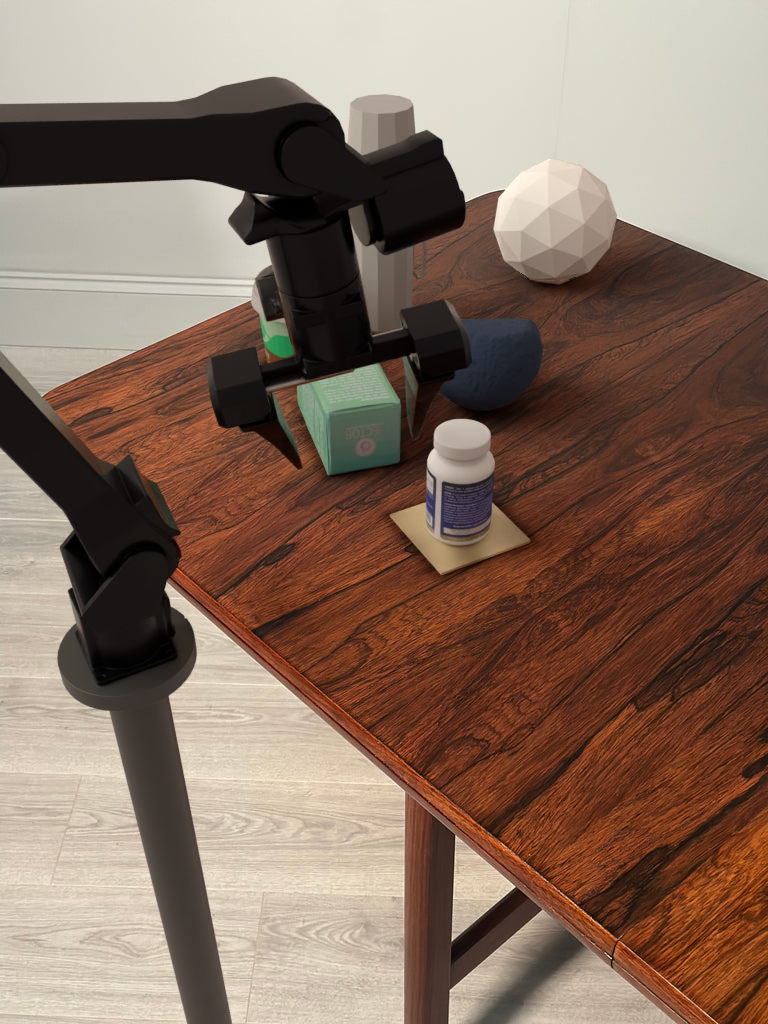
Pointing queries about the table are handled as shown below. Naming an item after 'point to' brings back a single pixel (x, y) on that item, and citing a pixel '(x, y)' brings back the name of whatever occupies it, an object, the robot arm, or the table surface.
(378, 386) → the box
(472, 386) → the decorative stone
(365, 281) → the water bottle
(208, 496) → the table surface
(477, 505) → the pill bottle
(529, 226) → the geometric sphere
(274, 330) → the food container
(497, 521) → the sticky note
